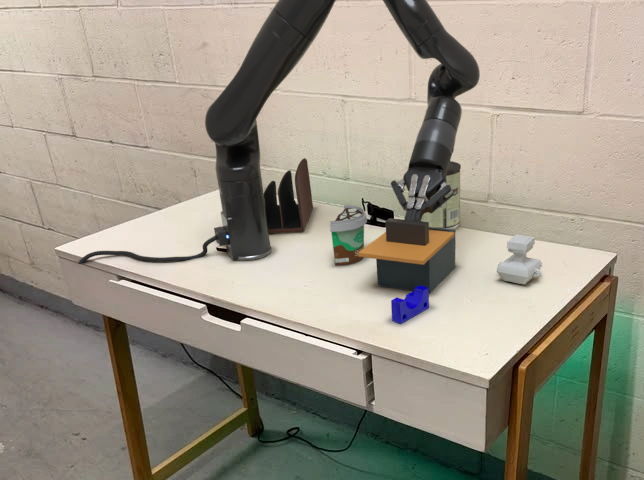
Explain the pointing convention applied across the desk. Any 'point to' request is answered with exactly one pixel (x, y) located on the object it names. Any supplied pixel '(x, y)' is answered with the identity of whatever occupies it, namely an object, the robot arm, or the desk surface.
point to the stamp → (519, 261)
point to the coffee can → (448, 203)
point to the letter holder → (289, 202)
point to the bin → (418, 269)
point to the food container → (348, 235)
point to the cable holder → (410, 304)
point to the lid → (407, 242)
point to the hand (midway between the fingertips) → (409, 229)
